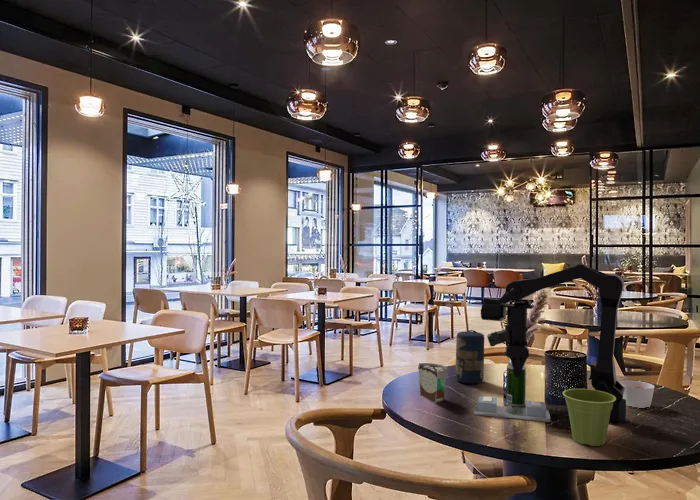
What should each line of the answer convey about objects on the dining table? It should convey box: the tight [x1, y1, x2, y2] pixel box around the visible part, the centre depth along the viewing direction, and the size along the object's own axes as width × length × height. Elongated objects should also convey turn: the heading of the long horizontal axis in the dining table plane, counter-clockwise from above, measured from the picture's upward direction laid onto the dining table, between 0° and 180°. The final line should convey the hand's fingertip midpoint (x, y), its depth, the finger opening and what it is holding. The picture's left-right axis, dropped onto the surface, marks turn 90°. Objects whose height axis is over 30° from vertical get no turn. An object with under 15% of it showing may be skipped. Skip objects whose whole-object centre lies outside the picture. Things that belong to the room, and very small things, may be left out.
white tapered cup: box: [619, 380, 655, 409], centre depth 154 cm, size 9×9×6 cm
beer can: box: [505, 361, 527, 408], centre depth 153 cm, size 5×5×12 cm
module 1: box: [477, 395, 498, 412], centre depth 146 cm, size 5×6×3 cm
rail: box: [473, 403, 551, 423], centre depth 144 cm, size 20×7×1 cm, turn 73°
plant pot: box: [562, 388, 616, 447], centre depth 125 cm, size 12×12×11 cm
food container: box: [417, 362, 449, 405], centre depth 158 cm, size 12×6×10 cm, turn 22°
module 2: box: [525, 399, 547, 417], centre depth 143 cm, size 5×6×3 cm
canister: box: [455, 329, 485, 384], centre depth 179 cm, size 10×10×18 cm
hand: (516, 374), depth 153 cm, fingers closed on beer can, 5 cm apart
